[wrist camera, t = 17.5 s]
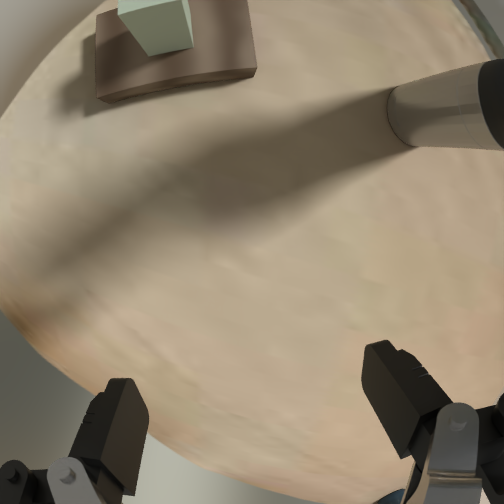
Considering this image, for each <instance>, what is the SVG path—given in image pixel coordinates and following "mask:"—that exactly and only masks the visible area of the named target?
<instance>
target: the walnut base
mask: <svg viewBox="0 0 504 504" xmlns="http://www.w3.org/2000/svg"><path fill="white" fill-rule="evenodd" d="M188 4H189V9H190V13H191V25H192V35H193V46H194V48H188V49H182V50H177V51H172V52H167V53H162V54H158V55H153V56H148V55H147V53H146V52H145V51H144V49H143V48H142V47H141V45H140V44H139V43H138V41H137V40H136V39H135V37H134V36H133V35H132V33H131V32H130V31H129V29H128V28H127V27H126V25H125V24H124V23H123V21H122V20H121V19H120V18H119V16H118V8H116V9H113V10H110V11H107V12H104V13H101V14H98V15H97V17H96V40H95V73H96V98H98V99H100V100H102V101H104V102H107V103H112V102H116V101H120V100H123V99H127V98H131V97H135V96H139V95H143V94H147V93H151V92H156V91H160V90H165V89H170V88H175V87H181V86H186V85H192V84H199V83H205V82H212V81H220V80H228V79H238V78H249V77H254V75H255V72H256V69H257V62H256V55H255V48H254V41H253V34H252V28H251V21H250V15H249V9H248V2H247V0H188Z"/></svg>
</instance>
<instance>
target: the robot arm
mask: <svg viewBox="0 0 504 504" xmlns="http://www.w3.org/2000/svg"><path fill="white" fill-rule="evenodd" d="M387 114H388V119H389V122H390V124H391V127H392V129H393V130H394V132H395V133H396V135H397V136H398V137H399V138H400V139H401V140H402V141H403V142H405V143H407V144H408V145H411V146H420V147H452V148H472V149H486V150H499V151H504V59H496V60H492V61H488V62H483V63H478V64H474V65H470V66H466V67H462V68H458V69H454V70H450V71H447V72H443V73H439V74H436V75H433V76H429V77H426V78H422V79H419V80H416V81H413V82H409V83H406V84H403V85H400V86H398V87H396V88H395V89H394V90H393V91H392V92H391V94H390V96H389V99H388V103H387ZM361 381H362V387H363V390H364V393H365V395H366V396H367V398H368V400H369V402H370V404H371V405H372V407H373V409H374V411H375V413H376V414H377V416H378V418H379V420H380V422H381V424H382V425H383V427H384V429H385V431H386V433H387V435H388V436H389V438H390V440H391V442H392V444H393V446H394V448H395V450H396V451H397V453H398V455H399V457H400V459H403V458H405V457H408V456H410V455H412V457H413V458H414V460H415V461H414V463H413V466H412V469H411V473H410V476H409V479H408V483H407V486H406V489H405V492H404V495H403V498H402V501H401V503H400V504H479V503H480V497H481V491H482V488H483V490H484V492H485V494H486V496H487V498H488V500H489V502H490V503H491V504H504V393H503V394H502V396H501V397H500V398H499V400H498V402H497V404H496V405H493V406H489V407H485V408H481V409H474V408H472V407H471V406H470V405H467V404H465V403H453V402H452V401H451V399H450V398H449V397H448V396H447V394H446V393H445V392H444V391H443V390H442V388H441V387H440V386H439V385H438V383H437V382H436V381H435V380H434V379H433V377H432V376H431V375H429V374H428V371H427V370H426V369H425V368H424V367H422V364H421V363H420V362H419V361H418V360H417V359H416V357H415V356H414V355H412V354H410V353H408V352H406V351H405V350H403V349H402V350H398V351H397V350H396V349H395V347H394V346H393V345H392V344H391V343H390V341H388V340H382V341H379V342H375V343H372V344H368V345H366V347H365V351H364V360H363V369H362V377H361ZM148 425H149V413H148V409H147V407H146V405H145V403H144V401H143V399H142V397H141V395H140V393H139V391H138V388H137V386H136V384H135V382H134V381H133V379H131V378H112V379H110V380H109V382H108V384H107V387H106V389H105V391H104V392H100V393H99V394H98V395H97V396H96V397H95V398H94V399H93V400H92V401H91V402H90V405H89V407H88V410H87V412H86V415H85V416H84V419H83V424H81V426H80V429H79V431H78V433H77V435H76V438H75V440H74V443H73V445H72V448H71V451H70V453H69V456H68V457H63V458H59V459H57V460H56V461H54V462H53V463H52V464H51V466H50V467H49V469H45V470H29V469H28V468H27V467H26V466H25V465H24V464H23V463H22V462H20V461H18V460H11V461H8V462H6V463H5V464H4V465H2V467H1V468H0V504H123V503H122V495H129V496H135V491H136V485H137V480H138V474H139V469H140V464H141V458H142V454H143V448H144V444H145V439H146V434H147V429H148Z"/></svg>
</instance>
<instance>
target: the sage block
mask: <svg viewBox="0 0 504 504" xmlns="http://www.w3.org/2000/svg"><path fill="white" fill-rule="evenodd" d="M118 16H119V18H120V19H121V20H122V21H123V23H124V24H125V25H126V27H127V28H128V29H129V31H130V32H131V33H132V35H133V36H134V37H135V39H136V40H137V41H138V43H139V44H140V45H141V47H142V48H143V49H144V51H145V52H146V53H147V55H148V56H153V55H158V54H162V53H167V52H172V51H177V50H182V49H188V48H194V46H193V35H192V25H191V13H190V9H189V4H188V0H118Z"/></svg>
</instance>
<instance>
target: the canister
mask: <svg viewBox="0 0 504 504" xmlns="http://www.w3.org/2000/svg"><path fill="white" fill-rule="evenodd" d="M404 492H405V489H401V490H398V491H395V492H393V493H391V494H389V495H387V496H385V497H384V498H382V499H381V500H379V501H378V503H377V504H400V503H401V501H402V498H403V495H404Z"/></svg>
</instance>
